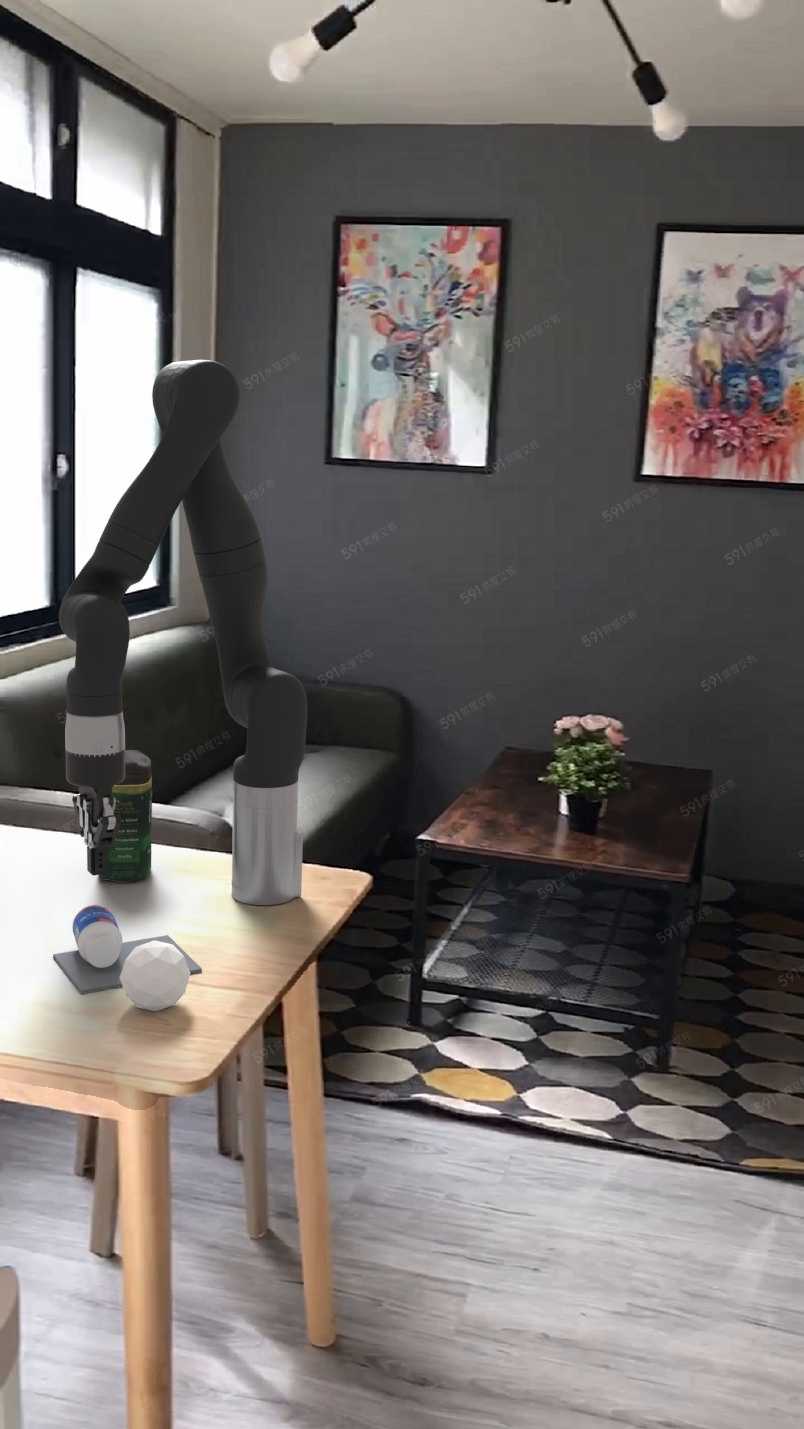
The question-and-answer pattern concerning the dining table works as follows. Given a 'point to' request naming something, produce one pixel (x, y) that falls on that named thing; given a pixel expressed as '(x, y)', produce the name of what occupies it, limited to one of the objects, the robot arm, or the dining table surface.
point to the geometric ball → (155, 975)
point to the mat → (108, 977)
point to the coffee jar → (132, 822)
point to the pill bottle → (97, 935)
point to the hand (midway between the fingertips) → (97, 872)
